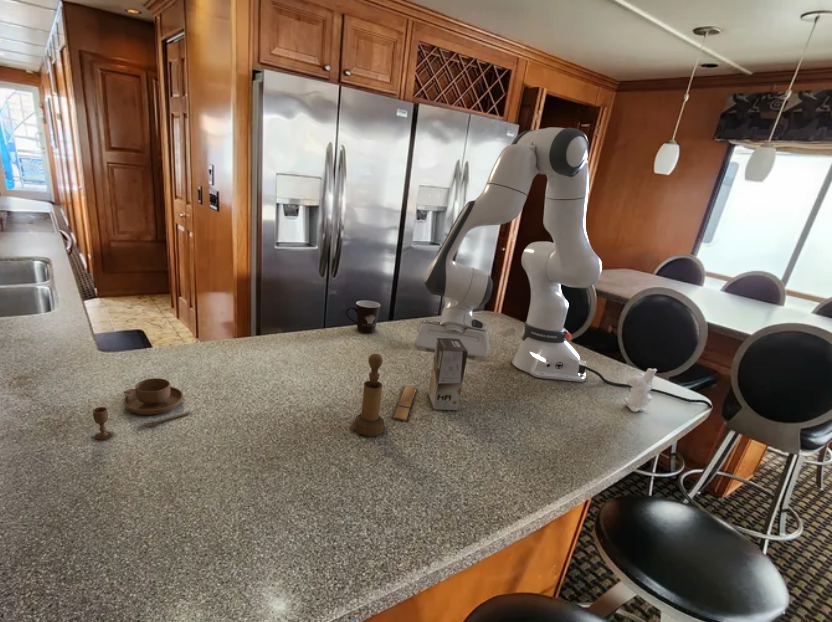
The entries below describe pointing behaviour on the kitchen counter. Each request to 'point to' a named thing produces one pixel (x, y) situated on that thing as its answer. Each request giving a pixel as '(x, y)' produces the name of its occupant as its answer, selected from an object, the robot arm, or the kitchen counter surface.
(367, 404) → the mortar and pestle
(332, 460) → the kitchen counter surface
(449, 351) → the coffee box
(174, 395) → the place setting
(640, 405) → the white animal figurine
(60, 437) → the kitchen counter surface
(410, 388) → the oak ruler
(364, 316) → the coffee mug
